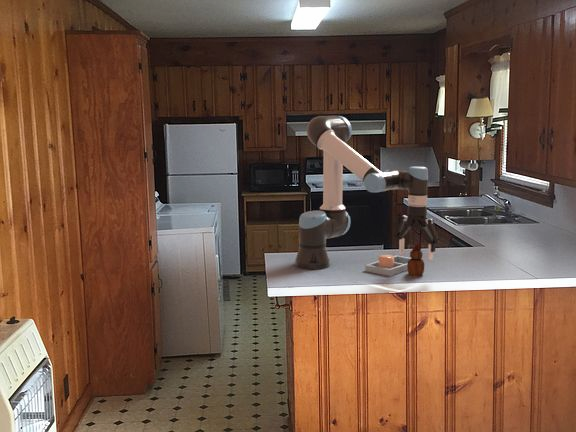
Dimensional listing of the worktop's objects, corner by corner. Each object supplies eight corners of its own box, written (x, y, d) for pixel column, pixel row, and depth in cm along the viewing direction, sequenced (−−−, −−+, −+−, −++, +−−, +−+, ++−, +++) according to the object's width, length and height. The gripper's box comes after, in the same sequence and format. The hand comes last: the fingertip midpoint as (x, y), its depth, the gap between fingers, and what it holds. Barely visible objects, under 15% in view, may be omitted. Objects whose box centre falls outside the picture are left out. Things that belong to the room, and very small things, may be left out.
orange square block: (375, 270, 269) (375, 256, 268) (383, 267, 273) (384, 254, 272) (388, 273, 264) (388, 259, 263) (396, 270, 269) (397, 256, 268)
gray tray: (365, 273, 269) (365, 265, 268) (396, 263, 286) (396, 255, 285) (390, 278, 260) (390, 270, 260) (420, 267, 278) (420, 259, 277)
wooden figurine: (422, 274, 266) (423, 239, 263) (425, 278, 260) (426, 242, 258) (405, 275, 266) (406, 239, 263) (408, 278, 260) (409, 242, 257)
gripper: (386, 203, 263) (384, 253, 267) (440, 209, 247) (438, 263, 250) (396, 201, 269) (394, 250, 272) (450, 207, 252) (448, 260, 256)
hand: (415, 257), depth 261 cm, fingers open, 13 cm apart
